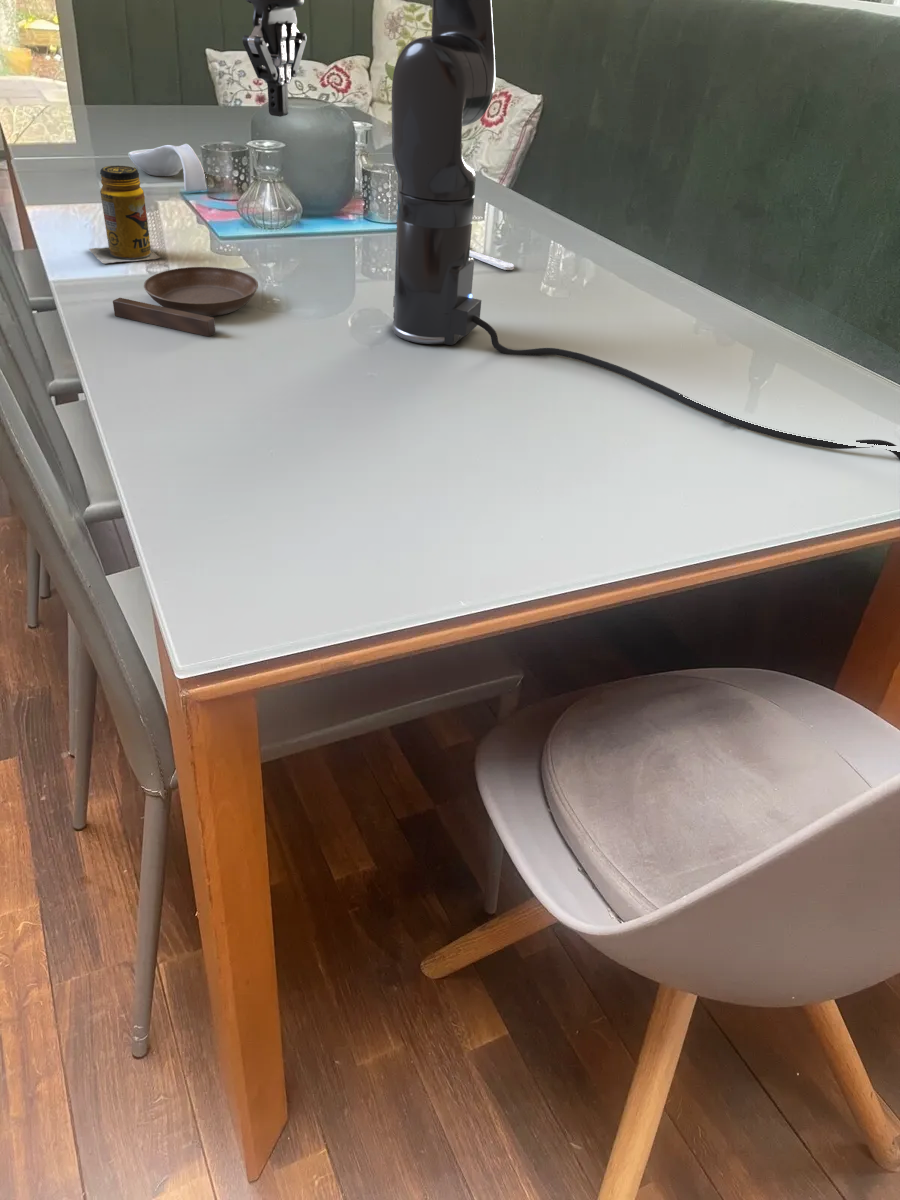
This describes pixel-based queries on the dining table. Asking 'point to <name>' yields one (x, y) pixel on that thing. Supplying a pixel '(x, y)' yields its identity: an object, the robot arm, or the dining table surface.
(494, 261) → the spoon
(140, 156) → the spoon rest
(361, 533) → the dining table surface
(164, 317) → the rail
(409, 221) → the robot arm
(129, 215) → the condiment
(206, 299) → the saucer
